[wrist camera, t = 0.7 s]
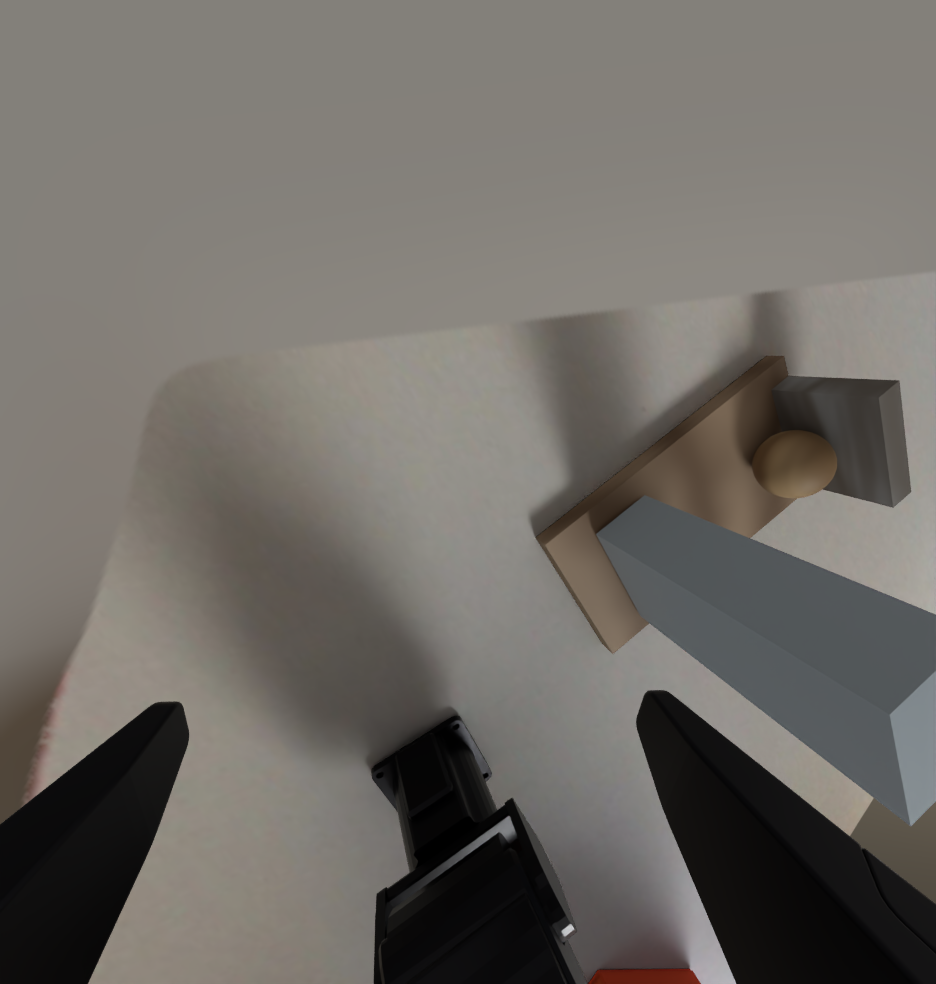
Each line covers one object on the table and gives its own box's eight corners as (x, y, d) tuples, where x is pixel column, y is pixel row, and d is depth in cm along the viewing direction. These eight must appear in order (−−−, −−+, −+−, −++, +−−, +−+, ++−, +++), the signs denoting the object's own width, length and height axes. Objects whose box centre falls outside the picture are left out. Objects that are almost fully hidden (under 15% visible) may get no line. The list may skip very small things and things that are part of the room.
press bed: (602, 643, 32) (678, 717, 25) (535, 537, 27) (607, 594, 21) (797, 480, 34) (912, 509, 28) (766, 355, 29) (896, 356, 23)
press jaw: (640, 616, 30) (910, 826, 17) (595, 534, 27) (889, 714, 13) (683, 580, 31) (980, 756, 17) (644, 495, 27) (976, 631, 14)
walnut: (745, 499, 31) (810, 521, 27) (729, 450, 29) (796, 465, 25) (789, 463, 31) (859, 478, 27) (776, 412, 30) (849, 421, 26)
